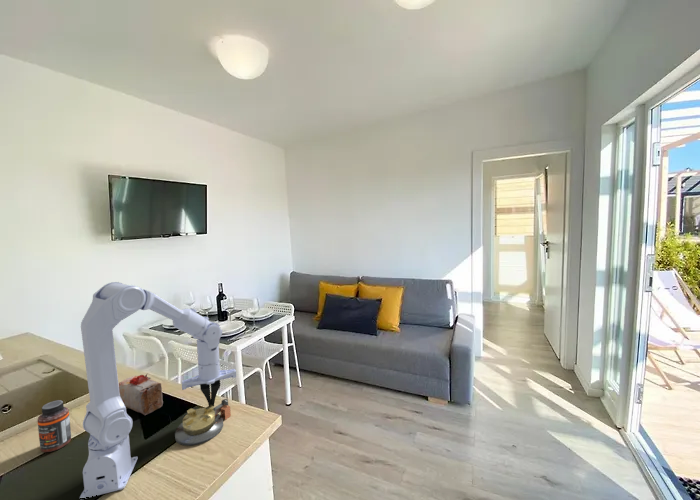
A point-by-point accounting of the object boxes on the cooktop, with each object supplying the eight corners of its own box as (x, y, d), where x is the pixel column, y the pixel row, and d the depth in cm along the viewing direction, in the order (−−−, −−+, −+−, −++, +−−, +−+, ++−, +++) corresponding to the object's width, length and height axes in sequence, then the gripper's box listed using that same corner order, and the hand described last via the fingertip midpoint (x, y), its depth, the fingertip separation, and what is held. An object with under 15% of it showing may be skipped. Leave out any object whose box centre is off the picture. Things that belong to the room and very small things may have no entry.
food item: (115, 407, 97) (113, 377, 96) (142, 394, 104) (139, 366, 103) (142, 418, 91) (139, 386, 90) (168, 404, 98) (166, 374, 97)
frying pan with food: (195, 451, 77) (194, 440, 77) (165, 437, 82) (164, 427, 82) (238, 418, 90) (237, 408, 90) (209, 408, 95) (209, 399, 95)
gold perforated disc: (195, 439, 79) (194, 426, 79) (175, 429, 83) (174, 417, 83) (237, 410, 91) (236, 399, 91) (218, 403, 95) (217, 392, 95)
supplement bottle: (34, 456, 77) (29, 413, 76) (49, 440, 82) (45, 400, 81) (63, 450, 78) (58, 408, 77) (76, 435, 84) (72, 396, 83)
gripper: (180, 373, 83) (183, 420, 84) (236, 361, 90) (238, 405, 91) (180, 362, 89) (183, 407, 91) (233, 352, 96) (235, 393, 97)
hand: (211, 405), depth 91 cm, fingers closed
